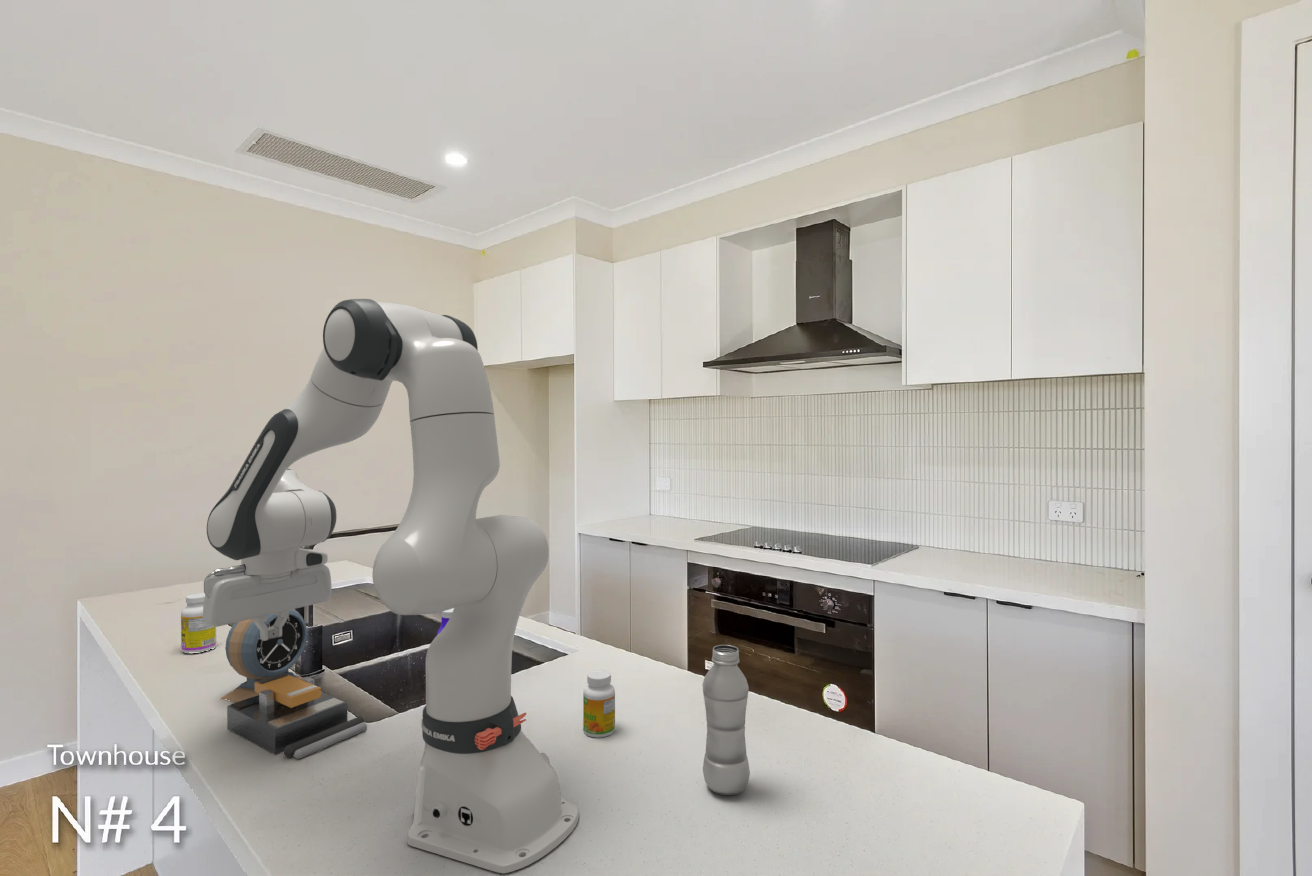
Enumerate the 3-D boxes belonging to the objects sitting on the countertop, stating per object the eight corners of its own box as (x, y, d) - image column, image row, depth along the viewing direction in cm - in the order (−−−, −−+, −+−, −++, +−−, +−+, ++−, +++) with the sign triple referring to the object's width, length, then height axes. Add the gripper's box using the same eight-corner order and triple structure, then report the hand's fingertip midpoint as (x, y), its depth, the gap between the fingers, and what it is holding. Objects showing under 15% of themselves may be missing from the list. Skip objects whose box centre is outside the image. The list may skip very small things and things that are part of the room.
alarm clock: (252, 709, 117) (250, 613, 117) (214, 701, 121) (213, 608, 120) (317, 680, 131) (316, 594, 130) (282, 674, 134) (281, 590, 134)
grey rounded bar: (358, 725, 111) (358, 715, 111) (369, 730, 109) (369, 719, 109) (281, 757, 100) (281, 746, 100) (292, 763, 98) (292, 751, 98)
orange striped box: (321, 697, 109) (321, 686, 109) (291, 707, 105) (290, 696, 104) (284, 682, 115) (284, 672, 115) (254, 691, 111) (254, 681, 111)
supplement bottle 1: (185, 647, 150) (184, 593, 150) (219, 643, 153) (218, 590, 153) (178, 657, 144) (177, 600, 144) (213, 652, 147) (212, 597, 147)
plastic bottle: (738, 807, 86) (738, 660, 86) (694, 792, 90) (694, 651, 90) (757, 784, 92) (757, 646, 92) (714, 771, 95) (714, 638, 95)
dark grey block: (347, 725, 111) (347, 683, 111) (275, 755, 101) (274, 709, 100) (298, 703, 119) (298, 665, 119) (227, 729, 109) (226, 687, 109)
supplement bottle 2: (576, 731, 108) (576, 674, 108) (600, 720, 112) (600, 665, 112) (598, 742, 105) (597, 683, 104) (621, 730, 109) (621, 673, 108)
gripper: (212, 573, 102) (213, 659, 102) (336, 553, 119) (336, 626, 119) (195, 568, 105) (195, 651, 106) (317, 549, 123) (317, 620, 123)
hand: (271, 638), depth 113 cm, fingers closed
